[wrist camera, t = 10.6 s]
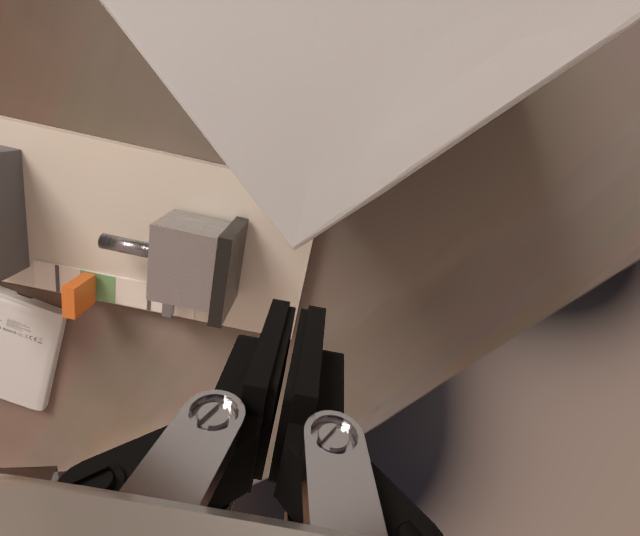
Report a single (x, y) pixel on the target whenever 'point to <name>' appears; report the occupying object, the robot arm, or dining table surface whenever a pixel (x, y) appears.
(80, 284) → the small orange block
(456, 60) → the supplement box
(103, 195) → the base
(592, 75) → the dining table surface
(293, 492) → the robot arm
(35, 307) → the external hard drive
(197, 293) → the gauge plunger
